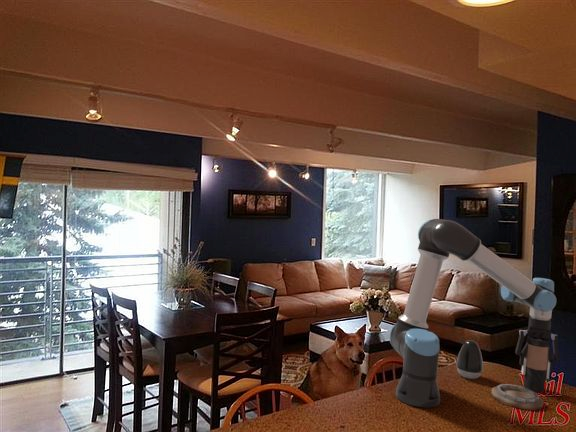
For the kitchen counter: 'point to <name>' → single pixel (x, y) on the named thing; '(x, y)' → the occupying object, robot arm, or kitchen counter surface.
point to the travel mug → (536, 364)
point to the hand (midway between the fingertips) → (534, 375)
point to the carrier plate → (517, 397)
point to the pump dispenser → (469, 360)
